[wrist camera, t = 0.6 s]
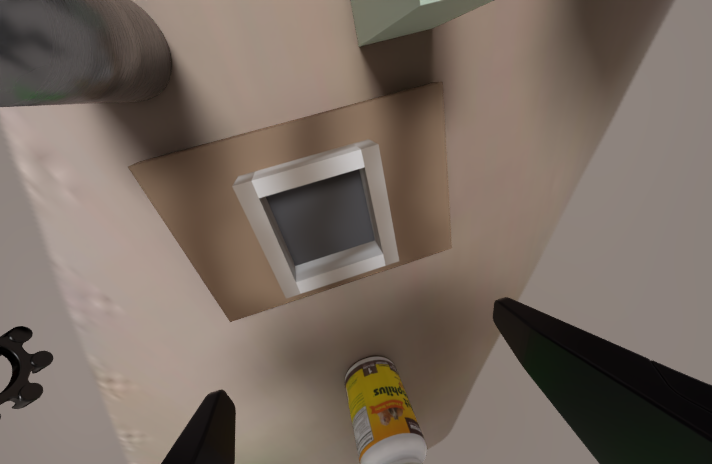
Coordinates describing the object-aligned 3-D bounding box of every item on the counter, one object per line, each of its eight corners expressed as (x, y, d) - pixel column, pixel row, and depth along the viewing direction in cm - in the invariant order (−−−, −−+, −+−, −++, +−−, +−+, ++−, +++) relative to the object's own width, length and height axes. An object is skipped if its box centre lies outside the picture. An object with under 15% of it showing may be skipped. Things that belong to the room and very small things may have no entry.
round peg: (61, -38, 11) (-295, -247, 4) (180, 27, 13) (60, -50, 6) (52, 72, 13) (-227, 44, 6) (161, 117, 14) (45, 137, 8)
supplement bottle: (403, 359, 29) (456, 477, 20) (375, 392, 30) (412, 516, 21) (361, 348, 26) (399, 476, 17) (333, 384, 28) (354, 520, 19)
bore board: (432, 82, 17) (461, 80, 14) (444, 241, 23) (466, 261, 20) (138, 161, 15) (105, 177, 12) (233, 310, 21) (224, 343, 18)
